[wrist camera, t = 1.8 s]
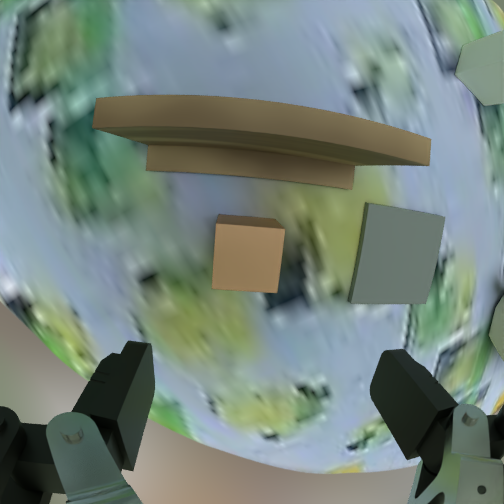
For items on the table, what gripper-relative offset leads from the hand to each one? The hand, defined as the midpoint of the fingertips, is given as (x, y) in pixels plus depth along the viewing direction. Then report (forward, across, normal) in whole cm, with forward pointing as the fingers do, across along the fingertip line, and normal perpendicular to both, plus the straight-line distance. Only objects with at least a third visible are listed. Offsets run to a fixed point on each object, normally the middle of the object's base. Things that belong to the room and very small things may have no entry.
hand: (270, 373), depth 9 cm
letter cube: (+18, 0, 0) cm, 18 cm away
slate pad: (+18, -16, 0) cm, 24 cm away
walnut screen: (+18, 0, -9) cm, 20 cm away
